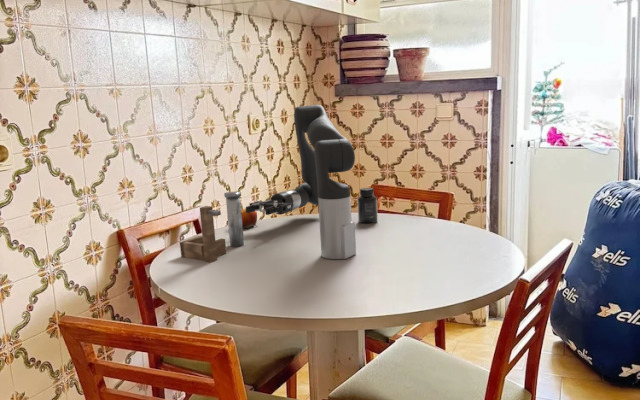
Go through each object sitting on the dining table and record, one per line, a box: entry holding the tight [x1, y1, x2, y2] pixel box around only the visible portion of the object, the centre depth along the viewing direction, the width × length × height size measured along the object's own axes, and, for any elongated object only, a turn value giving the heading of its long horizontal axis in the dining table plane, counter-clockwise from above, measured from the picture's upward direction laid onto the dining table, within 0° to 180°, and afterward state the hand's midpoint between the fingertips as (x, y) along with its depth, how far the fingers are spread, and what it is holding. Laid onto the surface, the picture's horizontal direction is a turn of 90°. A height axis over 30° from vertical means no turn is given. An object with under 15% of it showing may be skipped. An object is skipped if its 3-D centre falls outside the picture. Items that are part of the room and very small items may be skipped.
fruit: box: [241, 208, 258, 229], centre depth 204 cm, size 8×8×8 cm
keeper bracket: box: [179, 205, 227, 263], centre depth 167 cm, size 16×9×16 cm, turn 56°
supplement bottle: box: [357, 187, 379, 225], centre depth 200 cm, size 7×7×12 cm
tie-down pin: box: [223, 190, 245, 248], centre depth 178 cm, size 5×5×17 cm
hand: (256, 211), depth 187 cm, fingers open, 8 cm apart
